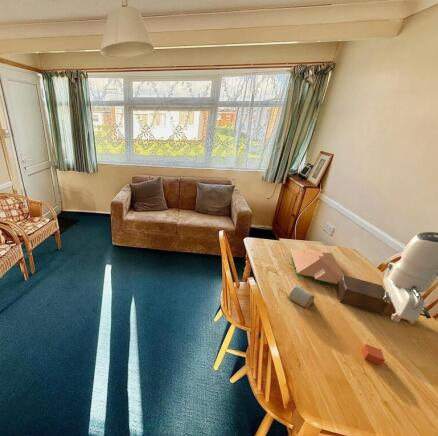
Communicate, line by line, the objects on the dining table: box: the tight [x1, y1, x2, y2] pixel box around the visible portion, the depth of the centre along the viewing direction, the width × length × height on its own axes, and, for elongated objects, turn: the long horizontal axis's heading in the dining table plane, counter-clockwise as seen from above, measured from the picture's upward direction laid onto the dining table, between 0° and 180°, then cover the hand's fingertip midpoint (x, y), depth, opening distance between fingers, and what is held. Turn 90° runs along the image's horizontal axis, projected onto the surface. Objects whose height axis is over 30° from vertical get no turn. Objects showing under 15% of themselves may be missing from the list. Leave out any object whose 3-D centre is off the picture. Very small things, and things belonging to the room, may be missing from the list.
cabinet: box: [335, 274, 388, 316], centre depth 107 cm, size 15×12×10 cm
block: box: [361, 343, 385, 367], centre depth 83 cm, size 4×4×4 cm
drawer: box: [382, 289, 432, 325], centre depth 100 cm, size 18×10×8 cm, turn 58°
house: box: [290, 247, 345, 288], centre depth 131 cm, size 23×33×8 cm
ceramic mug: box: [288, 285, 315, 309], centre depth 108 cm, size 11×8×8 cm
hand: (390, 310), depth 79 cm, fingers open, 8 cm apart
